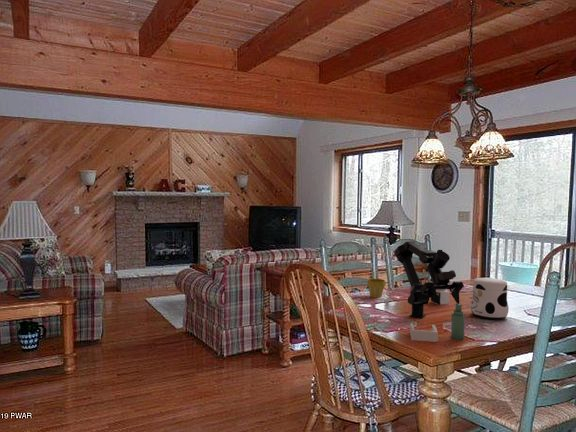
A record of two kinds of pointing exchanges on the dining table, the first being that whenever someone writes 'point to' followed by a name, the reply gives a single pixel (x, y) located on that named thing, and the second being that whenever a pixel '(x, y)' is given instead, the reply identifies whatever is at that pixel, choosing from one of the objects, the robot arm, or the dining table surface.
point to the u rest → (424, 334)
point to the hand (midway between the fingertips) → (449, 304)
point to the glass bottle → (458, 323)
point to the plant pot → (376, 287)
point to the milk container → (489, 298)
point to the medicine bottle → (442, 297)
